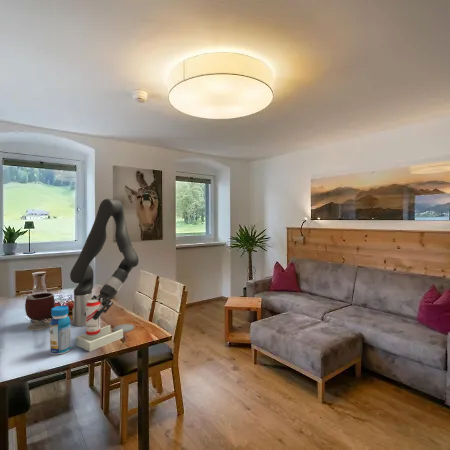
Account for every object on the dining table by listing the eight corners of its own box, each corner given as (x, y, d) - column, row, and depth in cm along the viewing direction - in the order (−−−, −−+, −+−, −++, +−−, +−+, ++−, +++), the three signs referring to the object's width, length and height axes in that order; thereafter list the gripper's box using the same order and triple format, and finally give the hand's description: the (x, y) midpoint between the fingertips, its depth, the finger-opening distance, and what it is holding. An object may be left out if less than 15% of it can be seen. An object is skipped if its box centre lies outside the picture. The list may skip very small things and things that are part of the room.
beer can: (88, 331, 143) (88, 298, 143) (102, 330, 144) (101, 298, 143) (83, 336, 137) (83, 303, 136) (97, 336, 138) (97, 302, 137)
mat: (109, 332, 154) (109, 331, 154) (118, 324, 165) (118, 323, 165) (129, 333, 153) (129, 332, 153) (137, 325, 164) (137, 324, 164)
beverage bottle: (69, 354, 130) (68, 309, 130) (47, 356, 128) (46, 311, 127) (73, 345, 138) (72, 304, 138) (53, 348, 136) (52, 305, 135)
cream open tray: (89, 351, 133) (89, 342, 133) (76, 345, 139) (75, 337, 139) (123, 337, 148) (123, 329, 147) (109, 332, 154) (109, 324, 154)
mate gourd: (46, 319, 172) (46, 286, 171) (60, 324, 165) (59, 289, 164) (17, 328, 159) (16, 292, 158) (30, 334, 152) (29, 296, 151)
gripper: (98, 281, 150) (75, 310, 140) (115, 285, 142) (93, 317, 132) (107, 289, 154) (86, 318, 145) (125, 294, 146) (104, 324, 137)
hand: (89, 317), depth 139 cm, fingers closed on beer can, 6 cm apart
